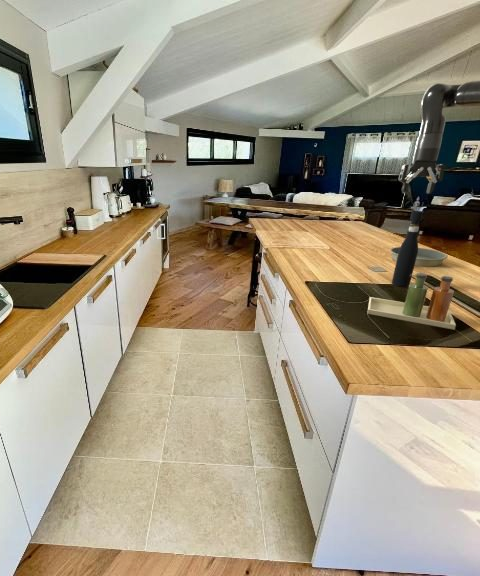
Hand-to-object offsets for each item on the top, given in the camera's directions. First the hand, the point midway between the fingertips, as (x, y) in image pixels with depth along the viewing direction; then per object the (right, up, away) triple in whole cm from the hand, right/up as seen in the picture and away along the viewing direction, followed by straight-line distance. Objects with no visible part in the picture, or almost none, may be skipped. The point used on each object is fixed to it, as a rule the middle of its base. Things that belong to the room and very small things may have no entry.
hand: (416, 193), depth 121 cm
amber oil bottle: (-9, -46, -20) cm, 51 cm away
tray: (-15, -46, -16) cm, 51 cm away
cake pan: (+30, -23, +42) cm, 56 cm away
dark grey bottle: (+1, -35, +11) cm, 37 cm away
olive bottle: (-14, -45, -17) cm, 51 cm away
